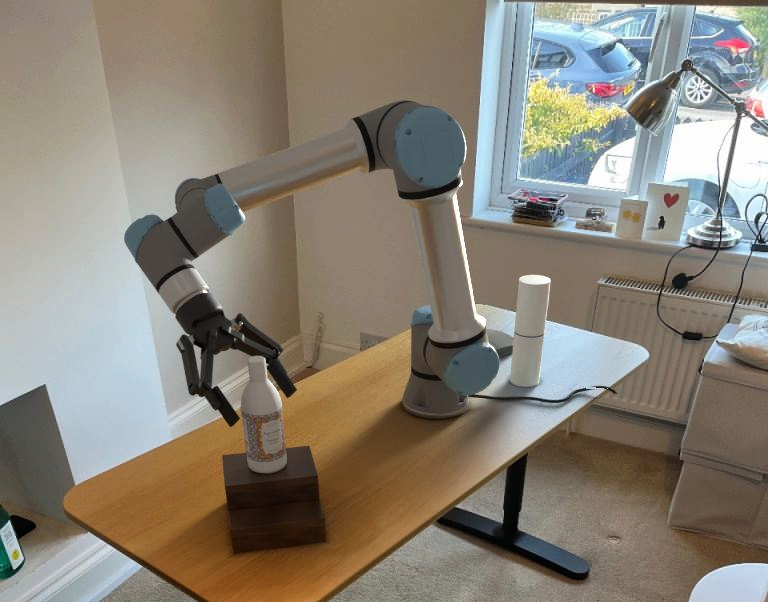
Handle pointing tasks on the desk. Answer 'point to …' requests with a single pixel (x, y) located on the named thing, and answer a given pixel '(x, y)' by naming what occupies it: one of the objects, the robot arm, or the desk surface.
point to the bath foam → (262, 421)
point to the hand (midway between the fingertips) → (264, 408)
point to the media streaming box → (500, 342)
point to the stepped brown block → (273, 503)
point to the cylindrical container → (529, 329)
